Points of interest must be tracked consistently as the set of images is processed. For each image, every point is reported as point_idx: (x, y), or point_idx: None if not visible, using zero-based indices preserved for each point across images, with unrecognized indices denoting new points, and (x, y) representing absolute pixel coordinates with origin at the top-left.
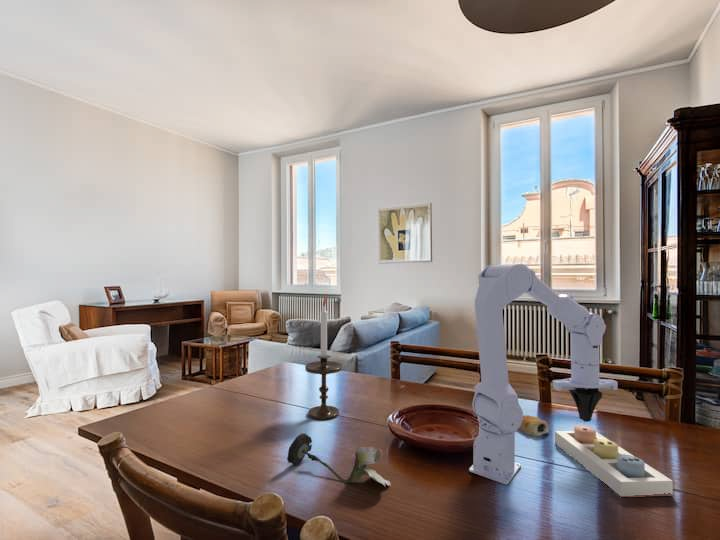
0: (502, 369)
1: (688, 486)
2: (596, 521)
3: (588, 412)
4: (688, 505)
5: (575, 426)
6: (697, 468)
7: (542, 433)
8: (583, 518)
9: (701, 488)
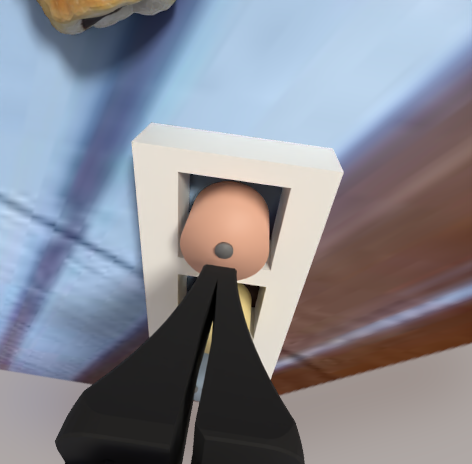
0: None
1: (337, 356)
2: (82, 370)
3: (204, 349)
4: None
5: (203, 215)
6: (466, 325)
7: (132, 13)
8: (65, 364)
9: (356, 363)
